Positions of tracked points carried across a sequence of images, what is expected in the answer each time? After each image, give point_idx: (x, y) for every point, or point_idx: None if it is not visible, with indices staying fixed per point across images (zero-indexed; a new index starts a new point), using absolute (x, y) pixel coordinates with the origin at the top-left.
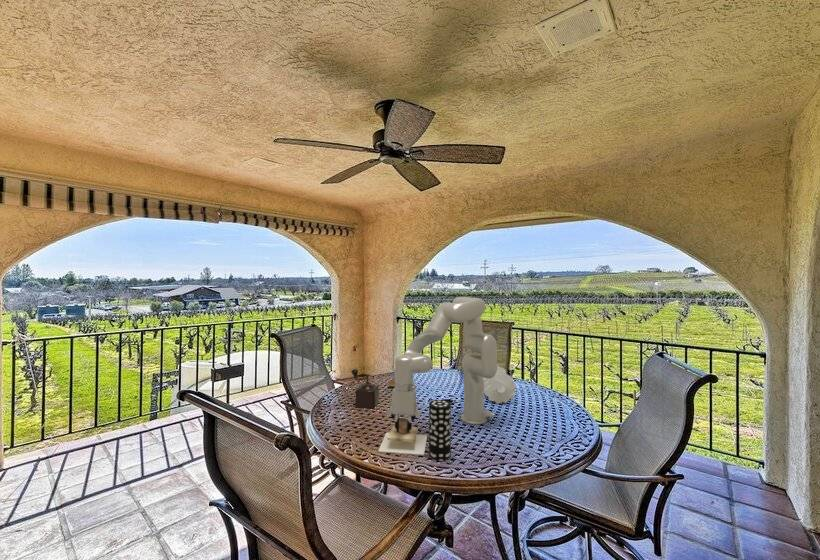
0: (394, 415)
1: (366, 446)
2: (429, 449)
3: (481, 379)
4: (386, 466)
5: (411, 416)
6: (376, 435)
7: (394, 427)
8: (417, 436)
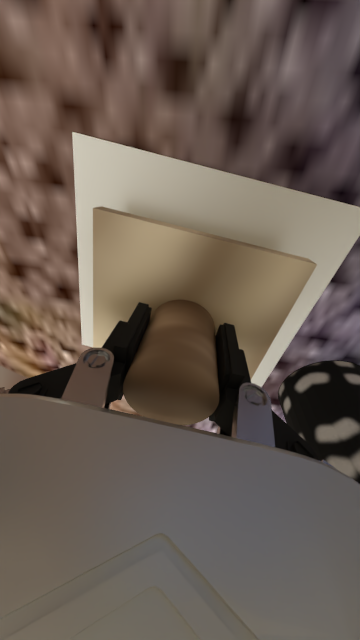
0: (57, 395)
1: (19, 294)
2: (286, 418)
3: None
4: (127, 409)
5: (261, 434)
6: (19, 167)
7: (115, 249)
8: (292, 227)
